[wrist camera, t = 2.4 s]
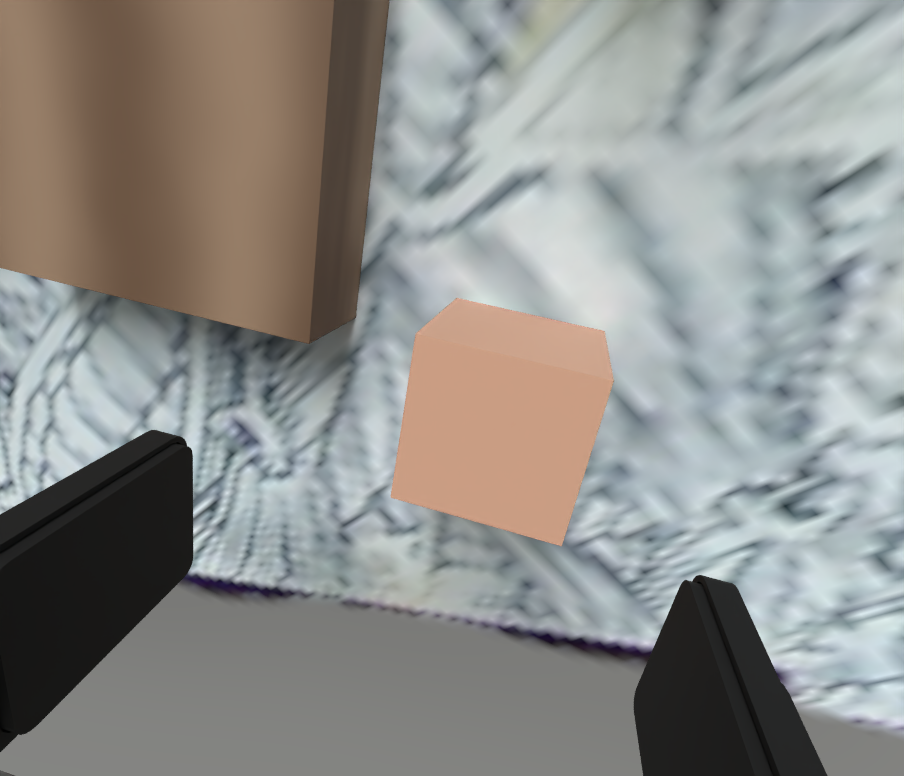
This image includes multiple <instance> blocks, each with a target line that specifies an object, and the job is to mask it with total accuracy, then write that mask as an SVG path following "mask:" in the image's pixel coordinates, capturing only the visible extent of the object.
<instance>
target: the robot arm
mask: <svg viewBox="0 0 904 776" xmlns="http://www.w3.org/2000/svg"><path fill="white" fill-rule="evenodd" d="M192 561H193V455H192V450H191V448H189V447H188V446H187V443H186V441H185V439H183V438H182V437H180V436H176V435H172V434H168V433H164V432H161V431H157V430H151V431H148V432H146V433H144V434H142V435H141V436H139V437H137V438H135V439H134V440H132V441H130V442H128V443H126V444H125V445H123V446H121V447H119V448H118V449H116V450H114V451H112V452H111V453H109V454H107V455H105V456H103V457H102V458H100V459H98V460H96V461H95V462H93V463H91V464H89V465H87V466H86V467H84V468H82V469H80V470H79V471H77V472H75V473H73V474H71V475H70V476H68V477H66V478H64V479H63V480H61V481H59V482H57V483H56V484H54V485H52V486H50V487H48V488H47V489H45V490H43V491H41V492H40V493H38V494H36V495H34V496H32V497H31V498H29V499H27V500H25V501H24V502H22V503H20V504H18V505H16V506H15V507H13V508H11V509H9V510H8V511H6V512H4V513H2V514H1V515H0V752H1V751H2V750H3V749H4V748H5V747H6V746H7V745H8V744H9V743H10V742H11V741H12V740H13V739H14V738H15V737H16V736H17V735H18V734H19V735H22V734H26V733H27V732H29V731H31V730H32V729H33V728H34V727H36V726H37V725H38V724H39V723H40V722H41V721H42V720H43V719H44V718H45V717H46V716H47V715H48V714H49V713H50V712H51V711H52V710H53V709H54V708H55V707H56V706H57V705H58V704H59V703H60V702H61V701H62V700H63V699H64V698H65V697H66V696H67V695H68V693H70V692H71V691H72V690H73V689H74V688H75V687H76V685H77V684H79V682H81V680H82V679H83V678H84V677H86V676H87V675H88V673H90V672H91V670H92V669H93V668H94V667H95V666H96V665H97V664H98V663H99V662H100V661H101V660H102V659H103V658H104V657H105V656H106V655H107V654H108V653H109V652H110V651H111V650H112V649H113V648H114V647H115V646H116V645H117V644H118V643H119V642H120V641H121V640H122V639H123V638H124V637H125V636H126V635H127V634H128V633H129V632H130V631H131V630H132V629H133V628H134V627H135V626H136V625H137V624H138V623H139V622H140V621H141V620H142V619H143V618H144V617H145V616H146V615H147V614H148V613H149V612H150V611H151V610H152V609H153V608H154V607H155V606H156V605H157V604H158V603H159V602H160V601H161V600H162V599H163V598H164V597H165V596H166V595H167V594H168V593H169V592H170V591H171V590H172V589H173V588H174V587H175V586H176V585H177V584H178V583H179V582H180V581H181V580H182V579H183V578H184V577H185V575H186V574H187V573H188V571H189V569H190V567H191V565H192ZM634 715H635V722H636V729H637V735H638V743H639V750H640V756H641V763H642V770H643V776H827V774H826V772H825V770H824V767H823V765H822V763H821V761H820V759H819V757H818V755H817V753H816V750H815V748H814V746H813V744H812V742H811V740H810V738H809V735H808V733H807V731H806V729H805V727H804V725H803V722H802V721H801V718H800V716H799V714H798V712H797V709H796V707H795V705H794V703H793V701H792V699H791V697H790V694H789V693H788V691H787V690H786V688H785V686H784V685H783V684H782V683H781V682H780V680H779V678H778V676H777V673H776V671H775V669H774V667H773V665H772V663H771V660H770V658H769V656H768V654H767V652H766V649H765V647H764V645H763V643H762V641H761V639H760V636H759V634H758V632H757V630H756V628H755V625H754V623H753V621H752V619H751V617H750V615H749V612H748V610H747V608H746V606H745V604H744V601H743V599H742V597H741V595H740V593H739V591H738V589H737V587H736V586H735V585H734V584H732V583H728V582H724V581H721V580H717V579H713V578H709V577H706V576H702V575H698V576H696V577H695V578H694V579H693V581H692V582H691V581H688V580H685V581H683V582H682V584H681V586H680V588H679V590H678V592H677V595H676V597H675V599H674V602H673V604H672V606H671V609H670V611H669V613H668V616H667V618H666V620H665V623H664V625H663V627H662V630H661V632H660V634H659V637H658V639H657V641H656V644H655V646H654V648H653V651H652V653H651V655H650V658H649V660H648V662H647V665H646V667H645V669H644V672H643V674H642V676H641V679H640V681H639V683H638V686H637V688H636V691H635V697H634ZM0 776H14V775H11V774H9V773H6V772H3V771H0Z"/></svg>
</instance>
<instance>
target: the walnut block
mask: <svg viewBox="0 0 904 776" xmlns="http://www.w3.org/2000/svg"><path fill="white" fill-rule="evenodd" d="M388 8H389V0H0V268H3V269H7V270H11V271H15V272H19V273H24V274H28V275H32V276H36V277H40V278H44V279H48V280H52V281H56V282H60V283H64V284H68V285H72V286H76V287H80V288H84V289H88V290H93V291H97V292H101V293H105V294H109V295H113V296H117V297H121V298H125V299H129V300H133V301H137V302H141V303H145V304H149V305H153V306H157V307H162V308H166V309H170V310H174V311H178V312H182V313H186V314H190V315H194V316H198V317H202V318H206V319H210V320H214V321H218V322H222V323H226V324H230V325H235V326H239V327H243V328H247V329H251V330H255V331H259V332H263V333H267V334H271V335H275V336H279V337H283V338H287V339H291V340H295V341H299V342H304V343H308V344H310V343H312V342H313V341H315V340H317V339H319V338H320V337H322V336H324V335H326V334H328V333H329V332H331V331H333V330H335V329H336V328H338V327H340V326H342V325H344V324H345V323H347V322H349V321H351V320H352V319H354V318H356V310H357V301H358V292H359V282H360V273H361V263H362V254H363V244H364V235H365V225H366V216H367V207H368V197H369V188H370V178H371V169H372V159H373V150H374V141H375V131H376V122H377V112H378V103H379V93H380V84H381V74H382V65H383V56H384V46H385V37H386V27H387V18H388Z"/></svg>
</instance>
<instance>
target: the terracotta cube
mask: <svg viewBox="0 0 904 776" xmlns="http://www.w3.org/2000/svg"><path fill="white" fill-rule="evenodd" d="M613 382H614V379H613V374H612V368H611V363H610V358H609V353H608V347H607V342H606V337H605V332H604V331H602V330H597V329H593V328H588V327H584V326H579V325H575V324H570V323H566V322H561V321H557V320H552V319H548V318H544V317H539V316H535V315H530V314H526V313H521V312H517V311H512V310H508V309H503V308H499V307H495V306H490V305H486V304H481V303H477V302H472V301H468V300H463V299H459V298H456V299H455V300H454V301H453V302H452V303H450V304H449V305H448V306H447V307H446V308H445V309H443V310H442V311H441V312H440V313H439V314H438V315H437V316H435V317H434V318H433V319H432V320H431V321H430V322H428V323H427V324H426V325H425V326H424V327H423V328H422V329H420V330H419V331H418V332H417V333H416V335H415V341H414V348H413V354H412V361H411V367H410V374H409V381H408V387H407V394H406V400H405V407H404V413H403V420H402V426H401V433H400V439H399V446H398V452H397V459H396V465H395V472H394V478H393V485H392V491H391V498H394V499H398V500H401V501H405V502H408V503H412V504H415V505H419V506H422V507H426V508H429V509H433V510H436V511H440V512H443V513H447V514H450V515H454V516H457V517H461V518H464V519H468V520H471V521H475V522H478V523H482V524H485V525H489V526H492V527H496V528H499V529H503V530H506V531H510V532H513V533H517V534H520V535H524V536H527V537H531V538H534V539H538V540H541V541H545V542H548V543H552V544H555V545H559V546H562V543H563V540H564V537H565V534H566V531H567V527H568V524H569V521H570V518H571V515H572V512H573V508H574V505H575V502H576V499H577V496H578V493H579V489H580V486H581V483H582V480H583V477H584V474H585V470H586V467H587V464H588V461H589V458H590V455H591V451H592V448H593V445H594V442H595V439H596V436H597V432H598V429H599V426H600V423H601V420H602V417H603V413H604V410H605V407H606V404H607V401H608V398H609V394H610V391H611V388H612V385H613Z"/></svg>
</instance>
